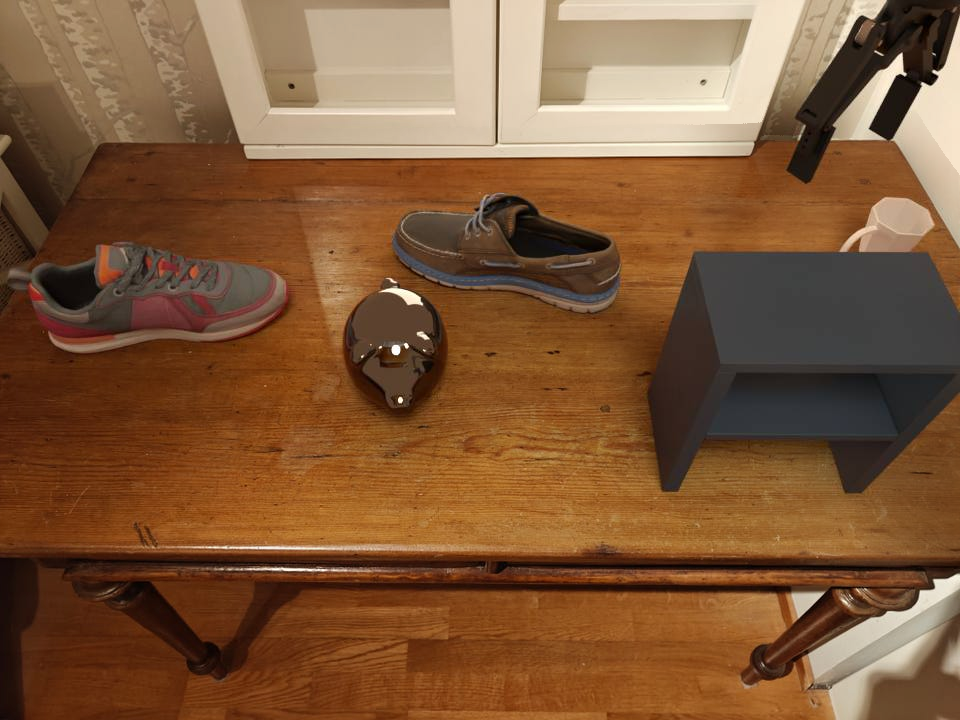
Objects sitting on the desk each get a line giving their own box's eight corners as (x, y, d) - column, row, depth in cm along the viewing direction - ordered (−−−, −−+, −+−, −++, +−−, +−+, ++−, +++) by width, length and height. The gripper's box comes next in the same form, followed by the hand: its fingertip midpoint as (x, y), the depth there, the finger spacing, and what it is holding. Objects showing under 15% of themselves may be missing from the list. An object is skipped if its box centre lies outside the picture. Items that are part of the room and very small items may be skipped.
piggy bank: (353, 444, 74) (333, 382, 65) (350, 334, 83) (333, 267, 74) (457, 432, 75) (453, 370, 66) (444, 325, 84) (438, 257, 75)
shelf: (827, 394, 77) (928, 251, 60) (861, 493, 70) (986, 365, 53) (646, 393, 78) (693, 251, 60) (662, 491, 71) (720, 363, 53)
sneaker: (296, 331, 83) (271, 260, 74) (48, 372, 80) (-12, 303, 71) (292, 271, 89) (268, 198, 80) (61, 306, 86) (7, 235, 76)
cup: (914, 276, 88) (948, 228, 81) (845, 294, 86) (874, 246, 80) (880, 239, 92) (910, 190, 85) (813, 255, 90) (838, 207, 84)
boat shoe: (409, 220, 95) (402, 156, 86) (624, 261, 90) (638, 197, 81) (382, 275, 89) (371, 212, 80) (610, 322, 84) (624, 260, 75)
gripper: (990, -102, 65) (884, 102, 82) (811, -37, 57) (734, 175, 74) (1068, -73, 62) (940, 134, 79) (889, 1, 53) (789, 215, 70)
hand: (840, 154), depth 76 cm, fingers open, 13 cm apart
